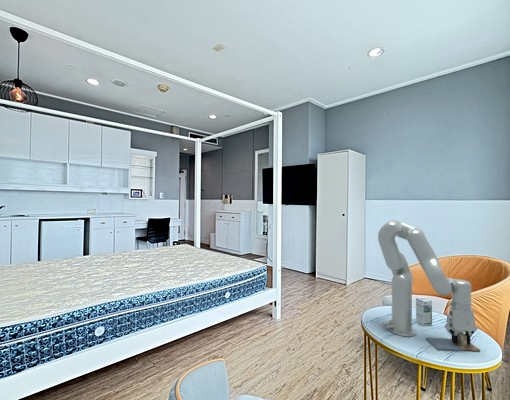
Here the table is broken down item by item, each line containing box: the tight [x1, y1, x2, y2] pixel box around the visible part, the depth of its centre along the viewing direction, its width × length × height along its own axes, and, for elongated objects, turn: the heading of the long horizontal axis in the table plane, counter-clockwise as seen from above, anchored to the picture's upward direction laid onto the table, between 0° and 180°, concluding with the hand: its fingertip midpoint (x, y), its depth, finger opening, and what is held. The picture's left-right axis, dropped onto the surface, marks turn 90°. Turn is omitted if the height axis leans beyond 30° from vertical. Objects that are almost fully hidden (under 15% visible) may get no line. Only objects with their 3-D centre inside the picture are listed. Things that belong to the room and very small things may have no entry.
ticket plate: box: [425, 337, 463, 353], centre depth 128 cm, size 11×10×1 cm
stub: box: [448, 332, 481, 352], centre depth 127 cm, size 8×9×6 cm
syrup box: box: [415, 296, 433, 327], centre depth 152 cm, size 6×6×14 cm
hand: (460, 342), depth 127 cm, fingers open, 5 cm apart
